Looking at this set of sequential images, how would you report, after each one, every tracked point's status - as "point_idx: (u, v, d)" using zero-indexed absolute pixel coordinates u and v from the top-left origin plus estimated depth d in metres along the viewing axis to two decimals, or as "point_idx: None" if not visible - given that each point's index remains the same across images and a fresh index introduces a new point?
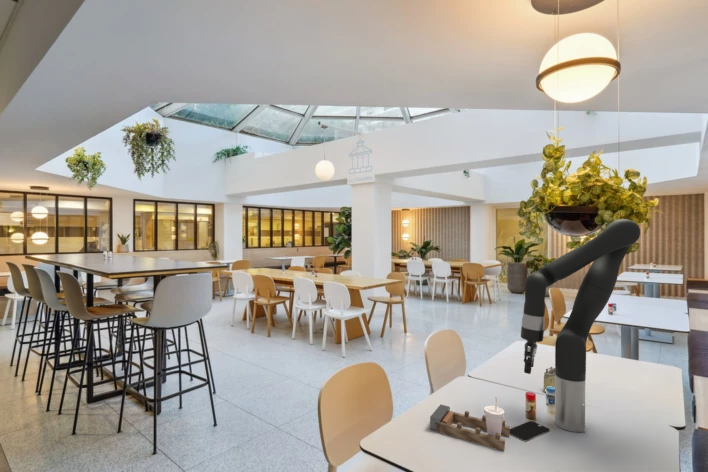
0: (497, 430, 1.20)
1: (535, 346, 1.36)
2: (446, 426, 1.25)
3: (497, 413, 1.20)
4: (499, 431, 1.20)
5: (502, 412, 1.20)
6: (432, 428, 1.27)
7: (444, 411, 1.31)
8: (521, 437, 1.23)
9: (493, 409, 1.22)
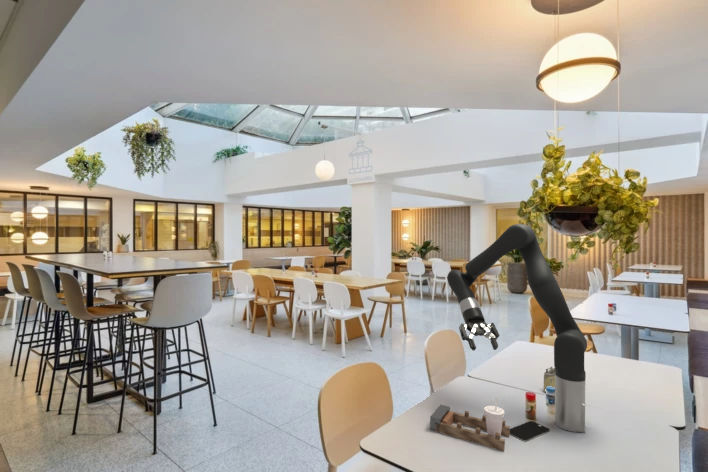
0: (497, 430, 1.20)
1: (474, 324, 1.43)
2: (446, 426, 1.25)
3: (497, 413, 1.20)
4: (499, 431, 1.20)
5: (502, 412, 1.20)
6: (432, 428, 1.27)
7: (444, 411, 1.31)
8: (521, 437, 1.23)
9: (493, 409, 1.22)
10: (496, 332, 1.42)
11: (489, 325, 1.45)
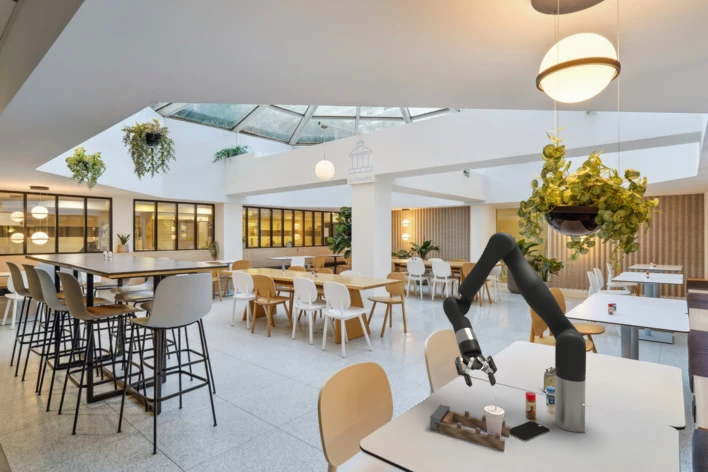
0: (497, 430, 1.20)
1: (471, 357, 1.35)
2: (446, 426, 1.25)
3: (497, 413, 1.20)
4: (499, 431, 1.20)
5: (502, 412, 1.20)
6: (432, 428, 1.27)
7: (444, 411, 1.31)
8: (521, 437, 1.23)
9: (493, 409, 1.22)
10: (494, 366, 1.34)
11: (486, 358, 1.37)
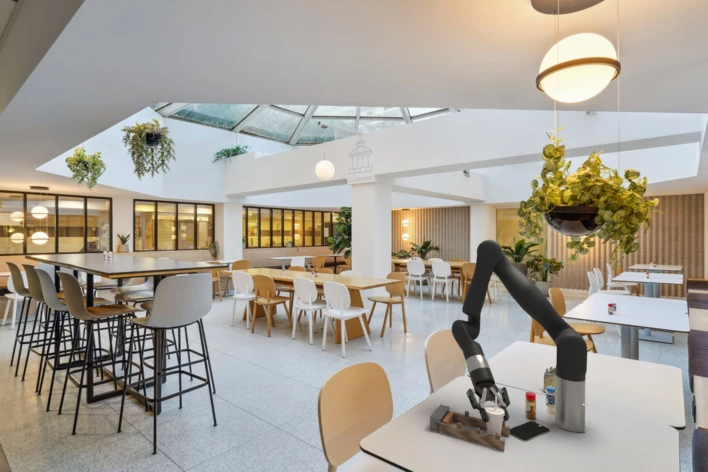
0: (497, 430, 1.20)
1: (483, 388, 1.26)
2: (446, 426, 1.25)
3: (497, 413, 1.20)
4: (499, 431, 1.20)
5: (502, 412, 1.20)
6: (432, 428, 1.27)
7: (444, 411, 1.31)
8: (521, 437, 1.23)
9: (493, 409, 1.22)
10: (507, 399, 1.25)
11: (500, 389, 1.28)
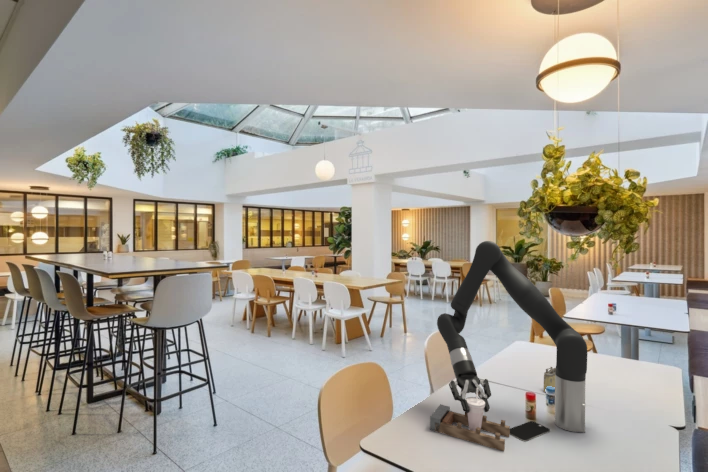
0: (478, 420, 1.23)
1: (465, 380, 1.29)
2: (446, 426, 1.25)
3: (478, 404, 1.23)
4: (480, 421, 1.23)
5: (483, 403, 1.24)
6: (432, 428, 1.27)
7: (444, 411, 1.31)
8: (520, 437, 1.23)
9: (474, 400, 1.25)
10: (488, 391, 1.28)
11: (482, 381, 1.31)
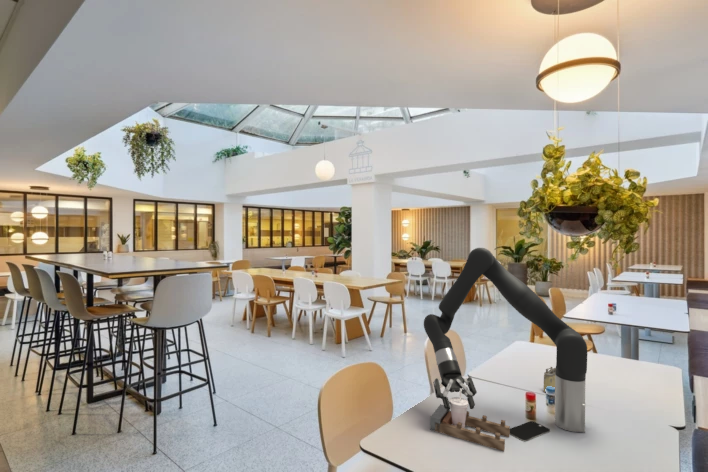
0: (461, 420, 1.26)
1: (450, 379, 1.32)
2: (446, 426, 1.25)
3: (461, 404, 1.26)
4: (463, 421, 1.26)
5: (466, 403, 1.26)
6: (432, 428, 1.27)
7: (444, 411, 1.31)
8: (520, 437, 1.23)
9: (458, 400, 1.28)
10: (473, 388, 1.31)
11: (466, 380, 1.34)
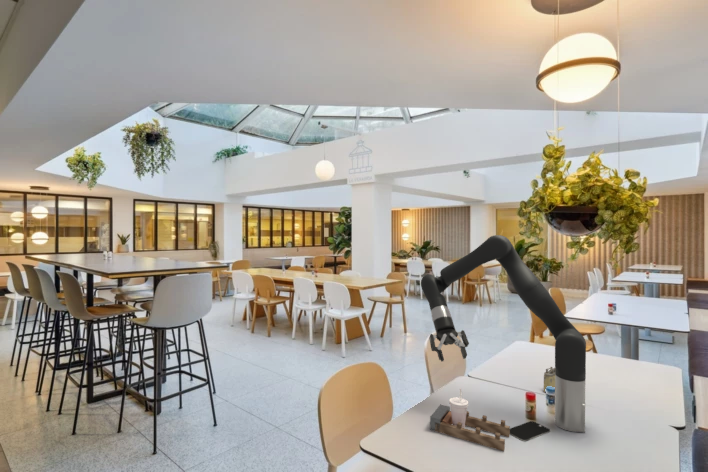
0: (461, 420, 1.26)
1: (443, 334, 1.44)
2: (446, 426, 1.25)
3: (461, 404, 1.26)
4: (463, 421, 1.26)
5: (466, 403, 1.26)
6: (432, 428, 1.27)
7: (444, 411, 1.31)
8: (520, 436, 1.23)
9: (458, 400, 1.28)
10: (466, 340, 1.43)
11: (459, 333, 1.46)
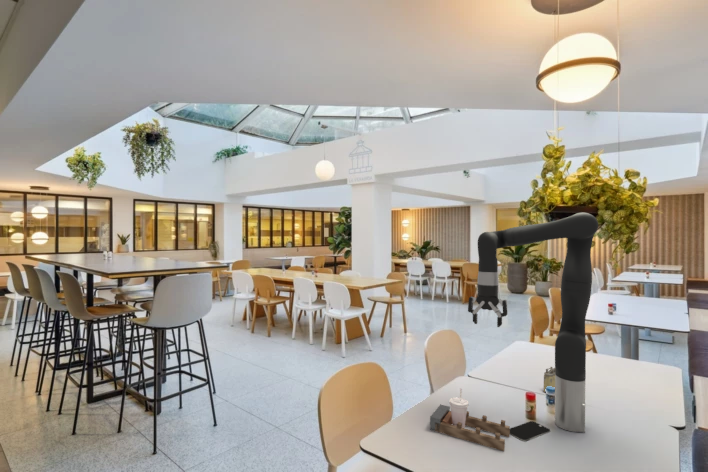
0: (461, 420, 1.26)
1: (482, 300, 1.44)
2: (446, 426, 1.25)
3: (461, 404, 1.26)
4: (463, 421, 1.26)
5: (466, 403, 1.26)
6: (432, 428, 1.27)
7: (444, 411, 1.31)
8: (520, 436, 1.23)
9: (458, 400, 1.28)
10: (504, 311, 1.40)
11: (501, 301, 1.41)
